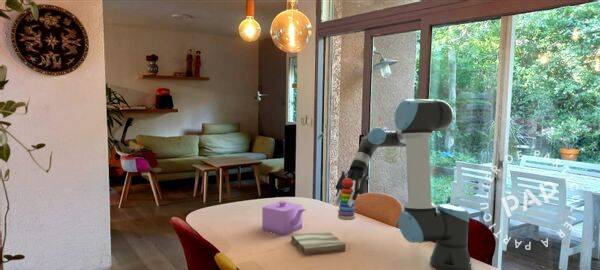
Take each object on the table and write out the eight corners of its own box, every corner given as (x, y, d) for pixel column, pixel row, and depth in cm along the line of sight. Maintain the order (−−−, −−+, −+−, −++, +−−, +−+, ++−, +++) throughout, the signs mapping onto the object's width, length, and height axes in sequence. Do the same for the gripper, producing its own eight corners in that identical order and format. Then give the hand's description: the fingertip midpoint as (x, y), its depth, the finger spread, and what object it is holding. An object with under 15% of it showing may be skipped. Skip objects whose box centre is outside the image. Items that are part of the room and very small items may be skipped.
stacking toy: (354, 221, 191) (355, 179, 189) (336, 220, 192) (337, 179, 191) (355, 216, 199) (356, 177, 197) (338, 215, 200) (339, 176, 199)
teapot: (296, 239, 195) (296, 209, 193) (254, 229, 209) (254, 200, 208) (314, 231, 207) (314, 202, 206) (273, 221, 221) (274, 195, 220)
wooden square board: (345, 250, 181) (345, 243, 180) (305, 255, 175) (305, 248, 174) (328, 237, 198) (328, 231, 197) (291, 241, 192) (291, 234, 191)
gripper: (380, 170, 201) (364, 211, 189) (345, 167, 212) (327, 205, 200) (376, 160, 196) (359, 202, 184) (340, 157, 207) (321, 196, 195)
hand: (342, 204), depth 192 cm, fingers closed on stacking toy, 6 cm apart
